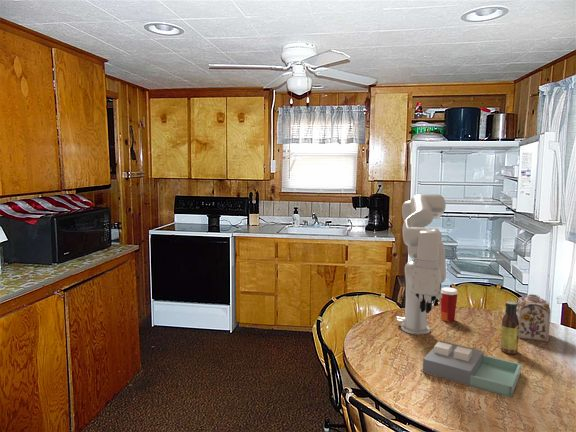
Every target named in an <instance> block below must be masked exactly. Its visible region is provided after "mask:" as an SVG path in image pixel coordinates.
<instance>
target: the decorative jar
mask: <svg viewBox="0 0 576 432" xmlns="http://www.w3.org/2000/svg"><path fill="white" fill-rule="evenodd" d="M515 303H517V308H516V314H517V317H518V321H519V339H525V340H532V341H538V342H540V341H541V342H546V343H547V342H549V338H550V323H551V307H550V304H549V301H547V299H546V300H545V299H544V298H541V297H540V295H537V294H533V293H532V294H530V293H529V294H527V295H526V296H521V297H518V298H517V300H516V301H515Z"/></svg>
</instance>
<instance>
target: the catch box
mask: <svg viewBox="0 0 576 432" xmlns="http://www.w3.org/2000/svg"><path fill="white" fill-rule="evenodd" d="M521 371H522V363H520V362H519V363H518V362H514V361H510V360H506V359H502V358H498V357H495V356H490V355H486V354H483V363H482V365H481V366H480V368H479V370H478V371H477V373H476V375H475V376H473V375H471V376H470V386H469V387H474V388H477V389H480V390H483V391H488V392H490V393H493V394H494V393H495V394H498V395H501V396H505V397H509V398H512V396H513V394H514V391H515V390H516V387H517V384H518V380H519V378H520V376H521V373H522V372H521Z"/></svg>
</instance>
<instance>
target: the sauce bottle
mask: <svg viewBox="0 0 576 432" xmlns="http://www.w3.org/2000/svg"><path fill="white" fill-rule="evenodd" d="M516 308H517V303H516V301H515V302H514V301H506V302H505V314H504V315H503V316H502V318H501V319H502V320H501V333H500V350H501V352H503V353H506V354H510V355H514V354H517V353H518V350H519V341H520V340H519V339H520V338H519V321H518V317H517V314H516Z"/></svg>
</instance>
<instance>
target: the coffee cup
mask: <svg viewBox="0 0 576 432" xmlns="http://www.w3.org/2000/svg"><path fill="white" fill-rule="evenodd" d="M441 293H442V298H441V299H440V319H441V321H444V322H449V323H450V322H451V323H452V322H454V321H455V318H456V317H455V316H456V312H457V311H456V310H457V301H458V300H457V299H458V294H459V292H458V289H456V288H454V287H441Z"/></svg>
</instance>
